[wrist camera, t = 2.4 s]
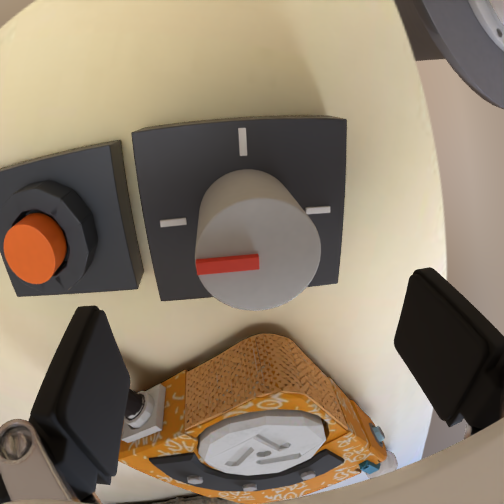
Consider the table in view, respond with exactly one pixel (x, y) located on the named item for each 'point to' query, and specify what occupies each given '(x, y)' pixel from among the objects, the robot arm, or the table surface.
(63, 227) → the button block
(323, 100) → the table surface
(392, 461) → the garlic
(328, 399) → the device
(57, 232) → the power button
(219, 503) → the elongated rock
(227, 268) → the timer dial
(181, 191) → the timer panel
